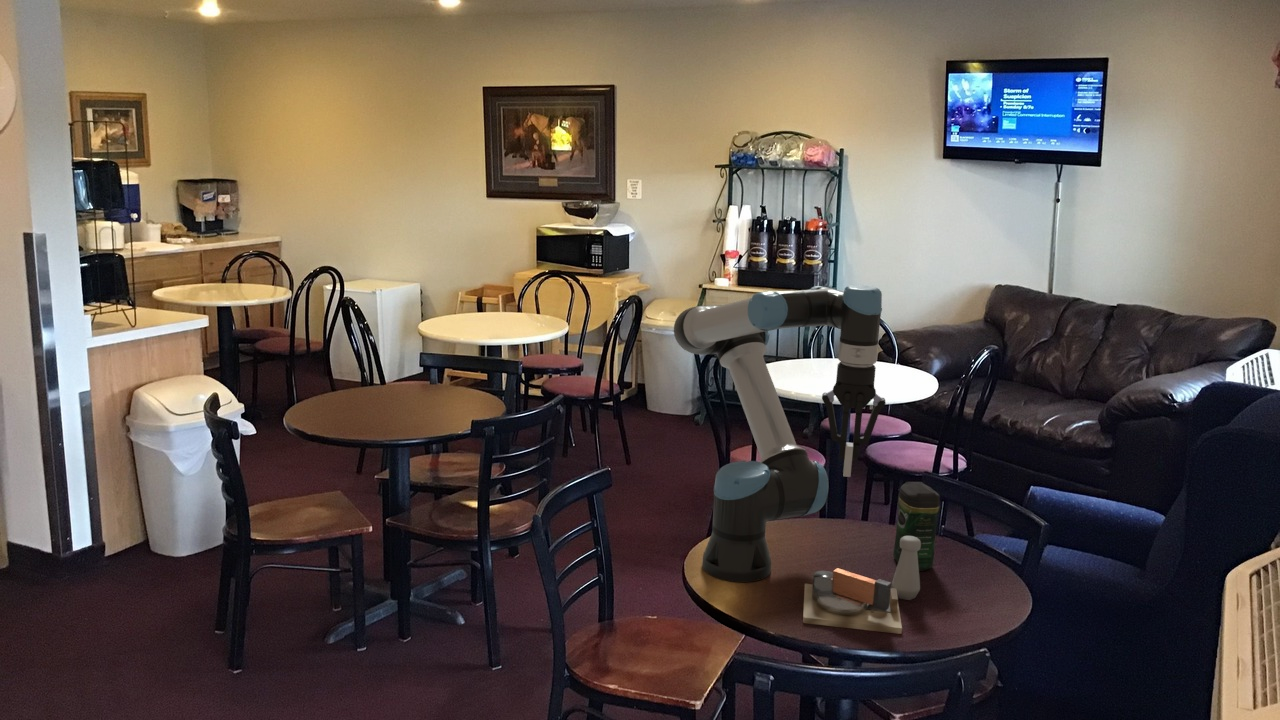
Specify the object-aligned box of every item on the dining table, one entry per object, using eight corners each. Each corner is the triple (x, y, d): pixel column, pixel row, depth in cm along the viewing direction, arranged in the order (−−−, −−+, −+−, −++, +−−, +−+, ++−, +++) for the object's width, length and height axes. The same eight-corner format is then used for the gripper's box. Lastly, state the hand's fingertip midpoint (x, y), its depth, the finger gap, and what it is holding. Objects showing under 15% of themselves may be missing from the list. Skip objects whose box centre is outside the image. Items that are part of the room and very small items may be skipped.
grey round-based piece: (874, 627, 202) (877, 592, 200) (801, 602, 212) (803, 568, 210) (896, 610, 210) (900, 576, 208) (824, 586, 219) (827, 553, 218)
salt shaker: (898, 587, 224) (904, 530, 221) (923, 595, 221) (929, 537, 218) (886, 595, 220) (891, 537, 217) (911, 604, 216) (917, 545, 213)
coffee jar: (937, 571, 233) (946, 493, 229) (903, 572, 232) (911, 493, 228) (921, 554, 242) (929, 478, 238) (888, 555, 241) (895, 478, 237)
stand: (802, 622, 206) (804, 603, 205) (804, 588, 222) (805, 570, 221) (901, 633, 203) (903, 614, 202) (896, 598, 219) (897, 580, 218)
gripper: (823, 364, 207) (814, 477, 213) (890, 370, 205) (879, 483, 210) (824, 356, 215) (815, 465, 220) (889, 361, 212) (878, 472, 217)
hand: (846, 474), depth 215 cm, fingers closed
